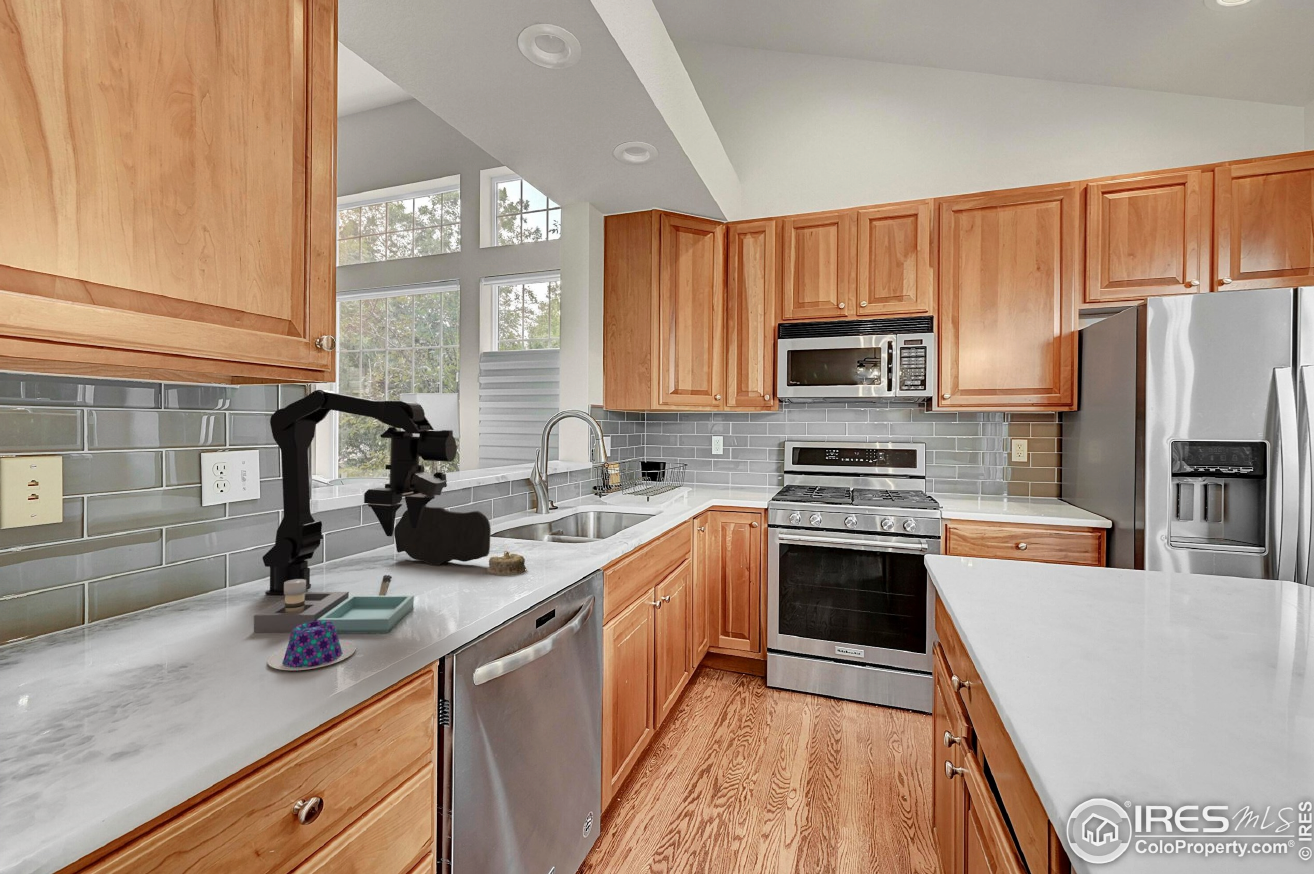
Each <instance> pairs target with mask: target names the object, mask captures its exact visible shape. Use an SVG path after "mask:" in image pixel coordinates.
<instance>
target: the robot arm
mask: <svg viewBox="0 0 1314 874" xmlns="http://www.w3.org/2000/svg"><path fill="white" fill-rule="evenodd" d="M331 411H335V412H341V413H345V414H346V413H347V414H352V415H356V416H363V417H367V418H372V419H375V420H377V421H379V422H381V423H383V424H385V425H388V428H387V429H386V430H385V431H384V432H383V433H381V434H380V436H379V437H380V438H383V439H390V450H389V451H390V452H389V453H390V454H389V455H390V456H389V463H388V464H385V467H384V468H385V470H389V483H384V487H374V488H369V489H367V490H366V491H365V492H364V493H363V504H367V506H368V508H371V510H372V511H373V513H374V515H375V516H376V517H377V519H378V522H379V524H380V526H381V528H382V529H383V532H384V534H385V535H386V536H387V537H393V535H394V528H395V522H396V514H397V511H398V510H399V509H400V508H401V507H402V505H403V503H401V501H402V500H403V498H404V499H405V500H404V501H405V505H406V509H407V510H408V514H409V519H410V523H411V526H412V528H413V529H416V528H418V525H419V522H420V519H421V516H422V513H423V511H424V508H425V506H427V504H428V503H430V502H431V501H432V500H434V499H435V498H436V496H441V494H442V492H443V489H444V488H446V487H447V486H448V483H447V474H446V473H445V472H443V471H436V472H435V473H434V474H433V473H427V472H425V466H424V464H422V463H421V464H420V457H421V458H422V460H423V461H425V462H449V463H452V462H453V461H454V460H455V458H456V456H457V452H458V451H457V450H458V445H457V443H456V442H457V441H456V439H455V437H454V435H453V434H454V433H453V432H454V430H452V429H442V430H435V429H434V428H433V426H432V425H431V423H430V421H429V420H428V419H427V417H426V416H425V415H426V414H425V413H426V412H425V411H424V408H423V406H422V405H421V404H420V403H418V402H416V401H415V402H414V401H403V400H383V401H382V400H376V399H370V398H365V397H359V396H353V395H348V394H343V393H339V392H338V393H337V392H334V391H332V390H326V389H325V390H324V389H317V390H314V391H311V392H310V393H309V394H308V395H306V396H305V397H302V398H300V399H298V400H296V401H294V402H292V403H289V404H288V405H287V406H285V407H283V408H279V409H277V410H275V411H274V412H273V414H271V416H270V418H269V423H270V424H269V425H270V429H271V433H272V438H273V440H274V441H275V443H276V445H277V446H278V448H279V449H280V452H281V453H280V455H281V457H280V458H281V472H282V473H281V479H282V504H283V517H282V519H281V522H280V524H279V525H278V528H277V530H276V534H275V541H274V542H275V543H274V545H273V547H271V548H270V549H269V550H268V551H267V552H266V553H265V554H264V555H262V561H263V564H264V566H265V567H267V568H269V589H268V590H266V591H265V592H264V593H265V595H284V582H286V581H289V580H294V579H304V580H306V590H307V589H309V588H310V587H312V583H311V581H310V580H311V579H310V578H311V577H310V576H311V575H310V574H311V568H310V567H309V566H308V565H309V561H308V560H310V559H313V557H314V554H315V551H316V550H317V549H318V547H320V545H321V540H323V539H324V536H323V533H322V530H323V529H322V527H323V523H322V521H321V520H317V521H315V519H314V517H313V516H312V514H311V500H310V499H311V498H310V495H311V494H310V475H309V471H310V470H309V448H310V446H311V444H312V442H313V440H314V438H315V433H316V425H319V423H320V422H321V421H323V420H325V419H326V417H327V415H328V414H329V413H330V412H331ZM398 429H402V430H398ZM413 434H416V435H419V436H416V435H413Z"/></svg>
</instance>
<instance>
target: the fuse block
mask: <svg viewBox="0 0 1314 874" xmlns="http://www.w3.org/2000/svg"><path fill="white" fill-rule="evenodd" d="M349 593H350V591H306V592H305V599H304V600H305V605H304V612H302V613H285V597H284V598H283V599H281V600H278V601H277V602H276V603H274V604H272V605H269V606H267V607H266V608H264V609H263V610H261V611H259V612H257V613H255V614H254V615H253V633H292V631H293V629H294V628H295V627H296V626H298V625H302V624H304V623H308V622H315V621H317V619H319V618H320V617H322V616H323V615H325V614H326V613H327V612H329V611H330V610H332V609H333V608H335V607H336V606H338V605H339V604H340V603H342V602H343V601H345V600H346V599H348V598H349V597H350V596H349Z"/></svg>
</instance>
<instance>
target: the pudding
mask: <svg viewBox="0 0 1314 874" xmlns="http://www.w3.org/2000/svg"><path fill="white" fill-rule="evenodd" d="M288 640H289V641H288V643H287V647H285V648H283V649H281V650H279V651H276V652H275V653H273V654H272V655H271V656H270V657H269V658H268V659H267V665H269V666H270V667H271V668H273V669H276V670H280V671H282V670H283V671H304V670H311V669H312V670H313V669H318V668H323V667H326V666H331V665H332V664H336V663H338V662H339V663H340V662H341V661H343V660H345V659H347V658H349V657H350V656H352V655H353V654H354V653H355V651H356V648H357V646H356V645H355V644H354V643H353V642H350V641H346V640H341V639H339V636H338V634H337V631H336V628H335V626H334V625H333V624H332V623H331V622H329V621H315V622H308V623H304V624H302V625H298V626H296V627H295V628H294V629H293V631H292V632H290V635H289V639H288ZM283 657H284V658H283ZM337 657H339V658H337ZM285 666H286V667H285ZM288 666H290V668H288ZM302 666H304V667H302ZM305 666H307V667H305ZM297 667H299V669H298V668H297Z"/></svg>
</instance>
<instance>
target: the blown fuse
mask: <svg viewBox="0 0 1314 874" xmlns="http://www.w3.org/2000/svg"><path fill="white" fill-rule="evenodd" d="M305 592H307V589H306V580H304V579H294V580H289V581H286V582H284V594H283V595H284V598H285V613H302V612H304V605H305V600H304V599H305Z"/></svg>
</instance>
